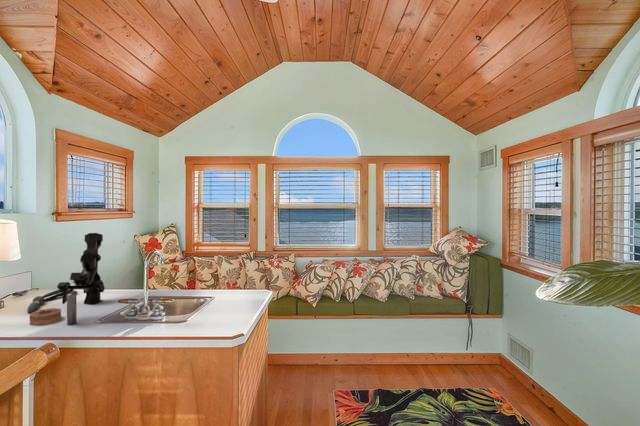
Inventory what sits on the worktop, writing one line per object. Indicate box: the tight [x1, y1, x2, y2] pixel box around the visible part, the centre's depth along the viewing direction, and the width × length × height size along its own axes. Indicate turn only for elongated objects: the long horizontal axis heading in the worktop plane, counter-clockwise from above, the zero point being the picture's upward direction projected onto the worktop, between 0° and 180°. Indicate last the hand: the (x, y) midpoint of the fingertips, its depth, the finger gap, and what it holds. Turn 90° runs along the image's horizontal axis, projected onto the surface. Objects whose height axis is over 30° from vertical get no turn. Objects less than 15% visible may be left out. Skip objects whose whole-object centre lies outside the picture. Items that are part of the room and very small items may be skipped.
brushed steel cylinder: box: [66, 293, 78, 326], centre depth 152 cm, size 4×4×14 cm
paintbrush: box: [26, 295, 46, 314], centre depth 173 cm, size 20×5×5 cm, turn 31°
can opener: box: [42, 289, 78, 303], centre depth 190 cm, size 18×7×6 cm, turn 160°
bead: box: [29, 307, 62, 326], centre depth 155 cm, size 11×11×4 cm
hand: (73, 303), depth 153 cm, fingers open, 9 cm apart
